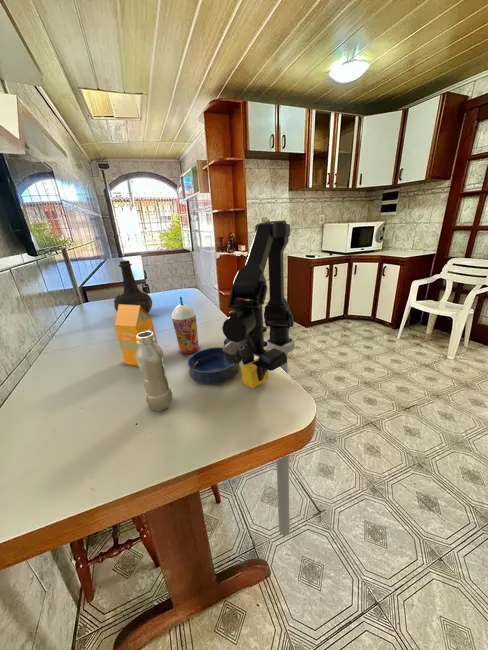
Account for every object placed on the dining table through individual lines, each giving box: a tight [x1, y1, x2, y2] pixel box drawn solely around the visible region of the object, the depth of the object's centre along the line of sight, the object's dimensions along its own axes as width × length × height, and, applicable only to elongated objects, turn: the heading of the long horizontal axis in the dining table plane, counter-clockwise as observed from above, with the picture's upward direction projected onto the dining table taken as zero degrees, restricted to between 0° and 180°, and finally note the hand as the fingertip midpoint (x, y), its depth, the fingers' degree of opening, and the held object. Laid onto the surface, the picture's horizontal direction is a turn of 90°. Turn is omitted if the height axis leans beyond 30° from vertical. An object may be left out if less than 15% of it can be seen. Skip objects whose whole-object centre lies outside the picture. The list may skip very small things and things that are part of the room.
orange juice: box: [113, 304, 158, 367], centre depth 88 cm, size 8×9×20 cm
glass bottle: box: [113, 260, 153, 314], centre depth 132 cm, size 18×18×28 cm
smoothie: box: [170, 296, 199, 354], centre depth 93 cm, size 8×8×20 cm
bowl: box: [187, 346, 241, 385], centre depth 81 cm, size 15×15×4 cm
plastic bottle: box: [135, 331, 174, 412], centre depth 65 cm, size 6×7×20 cm
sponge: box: [240, 357, 269, 389], centre depth 73 cm, size 6×4×5 cm, turn 131°
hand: (255, 377), depth 73 cm, fingers closed on sponge, 4 cm apart
